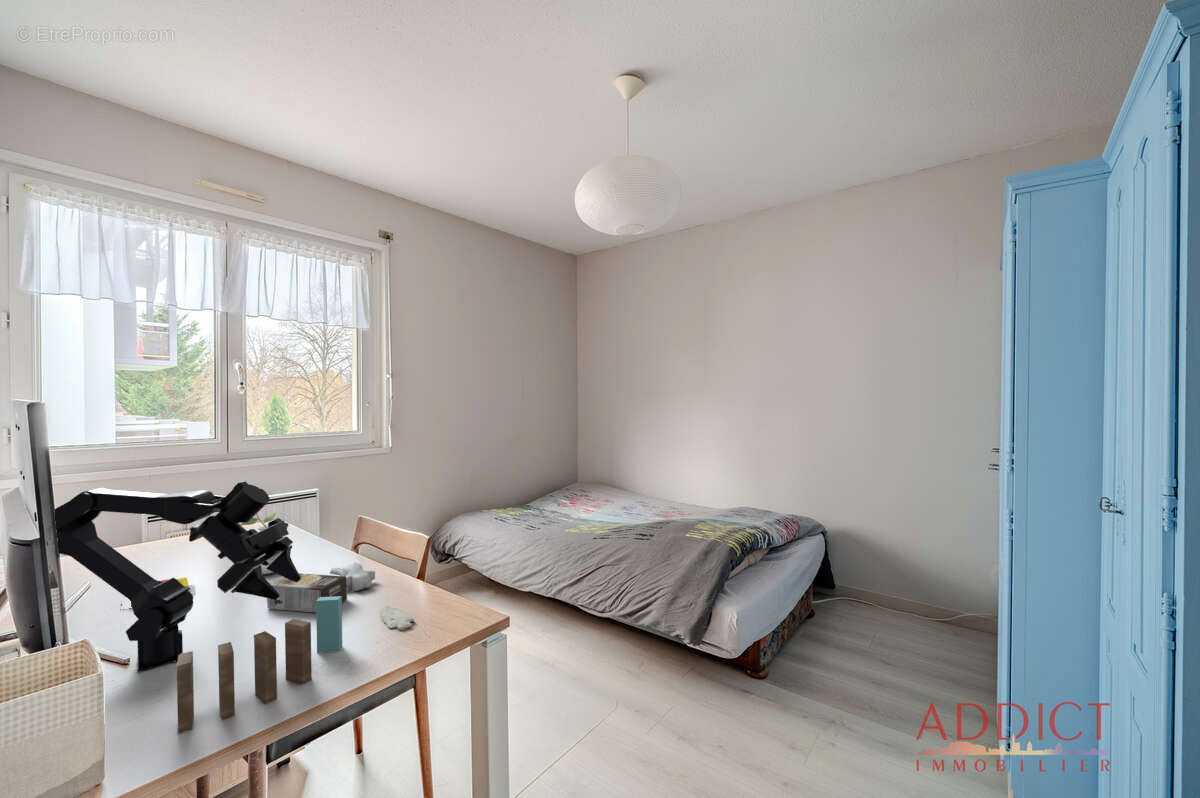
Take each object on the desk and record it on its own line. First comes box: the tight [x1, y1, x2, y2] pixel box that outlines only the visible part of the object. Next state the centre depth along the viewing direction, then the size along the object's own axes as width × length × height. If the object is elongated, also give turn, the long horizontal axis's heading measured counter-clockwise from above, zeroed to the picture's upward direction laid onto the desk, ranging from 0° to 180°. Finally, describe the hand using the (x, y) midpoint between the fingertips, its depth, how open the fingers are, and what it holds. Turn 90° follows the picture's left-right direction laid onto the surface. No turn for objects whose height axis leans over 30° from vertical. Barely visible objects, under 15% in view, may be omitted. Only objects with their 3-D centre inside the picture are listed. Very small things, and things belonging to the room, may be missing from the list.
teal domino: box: [315, 596, 343, 654], centre depth 107 cm, size 2×4×11 cm, turn 97°
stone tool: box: [379, 605, 415, 631], centre depth 122 cm, size 6×2×15 cm
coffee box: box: [266, 572, 348, 614], centre depth 130 cm, size 9×6×16 cm
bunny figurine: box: [329, 562, 376, 593], centre depth 144 cm, size 10×5×15 cm
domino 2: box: [217, 641, 236, 721], centre depth 87 cm, size 2×4×11 cm, turn 41°
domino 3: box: [253, 630, 278, 705], centre depth 91 cm, size 2×4×11 cm, turn 55°
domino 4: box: [284, 618, 313, 686], centre depth 96 cm, size 2×4×11 cm, turn 71°
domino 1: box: [176, 650, 195, 734], centre depth 84 cm, size 2×4×11 cm, turn 36°
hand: (289, 588), depth 106 cm, fingers open, 9 cm apart
